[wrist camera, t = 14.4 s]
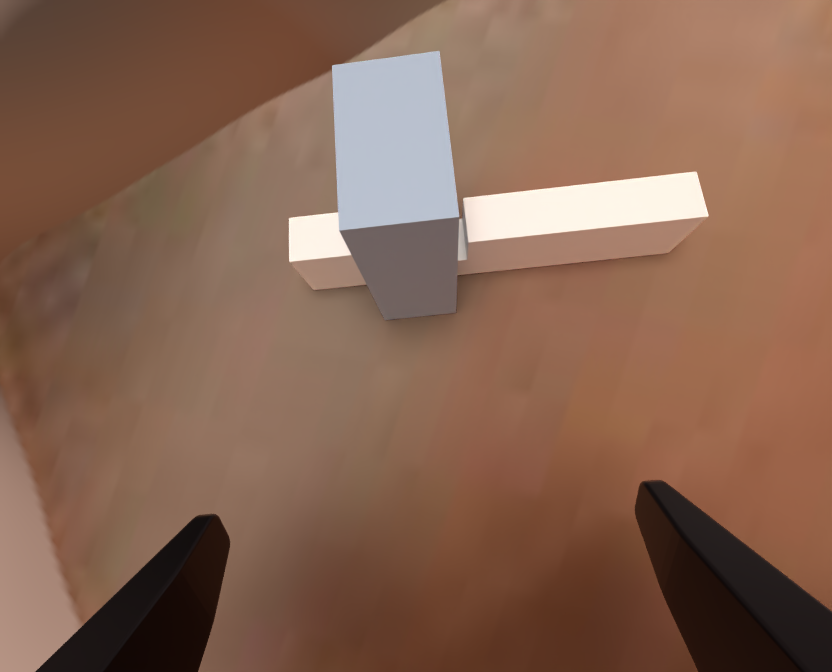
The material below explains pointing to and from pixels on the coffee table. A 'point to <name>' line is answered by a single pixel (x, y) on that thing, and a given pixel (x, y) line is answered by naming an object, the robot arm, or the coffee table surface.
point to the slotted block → (397, 182)
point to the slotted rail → (531, 228)
